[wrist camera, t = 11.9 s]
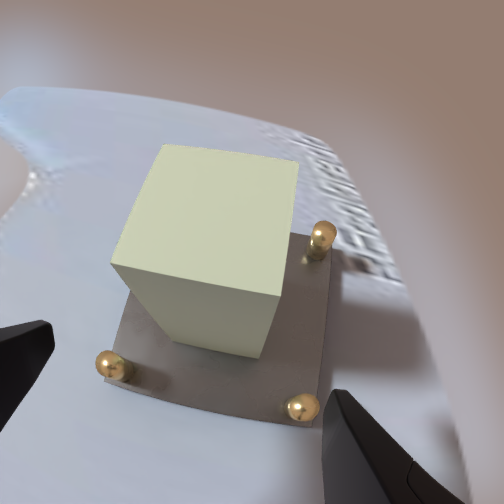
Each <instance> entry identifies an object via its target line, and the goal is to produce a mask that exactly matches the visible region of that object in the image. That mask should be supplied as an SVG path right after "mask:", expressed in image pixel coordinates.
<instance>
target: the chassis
mask: <svg viewBox="0 0 504 504" xmlns="http://www.w3.org/2000/svg"><path fill="white" fill-rule="evenodd" d="M336 234H337V230H336V228H335V226H334V225H333V224H332V223H330V222H328V221H319V222H317V223H316V224H315V226H314V229H313V231H312V234H311V236H308V235H302V234H296V233H291V232H290V236H289V243H288V250H287V257H286V264H285V271H284V278H283V284H282V291H281V297H280V300H279V303H278V306H277V309H276V312H275V314H274V317H273V320H272V323H271V326H270V329H269V332H268V335H267V337H266V340H265V343H264V346H263V349H262V351H261V354H260V357H259V359H256V358H251V357H245V356H240V355H235V354H229V353H224V352H219V351H215V350H210V349H205V348H200V347H196V346H191V345H187V344H183V343H178V342H174V341H172V340H171V339H170V338H169V337H168V335H167V334H166V333H165V332H164V331H163V330H162V328H161V327H160V326H159V325H158V324H157V322H156V321H155V320H154V319H153V318H152V316H151V315H150V314H149V313H148V311H147V310H146V309H145V308H144V306H143V305H142V304H141V303H140V301H139V300H138V299H137V298H136V296H135V295H134V294H133V293H132V291H131V290H130V293H129V296H128V299H127V303H126V306H125V309H124V312H123V315H122V318H121V322H120V325H119V328H118V332H117V335H116V339H115V342H114V346H113V349H112V351H108V350H107V351H103V352H101V353H100V354H99V355H98V356H97V358H96V369H97V371H98V372H99V373H100V374H101V375H102V376H105V379H104V382H107V383H110V384H113V385H116V386H119V387H122V388H125V389H128V390H131V391H134V392H138V393H141V394H144V395H148V396H151V397H155V398H158V399H162V400H165V401H169V402H173V403H177V404H181V405H185V406H189V407H193V408H197V409H202V410H206V411H211V412H215V413H220V414H225V415H230V416H236V417H241V418H247V419H253V420H259V421H265V422H272V423H279V424H287V425H295V426H304V427H312V422H313V418H315V417H316V416H317V414H318V412H319V409H320V405H319V401H318V400H317V398H316V397H317V390H318V383H319V376H320V368H321V360H322V352H323V344H324V335H325V326H326V316H327V306H328V295H329V283H330V270H331V255H332V243H333V241H334V239H335V237H336Z"/></svg>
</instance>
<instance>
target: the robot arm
mask: <svg viewBox="0 0 504 504" xmlns="http://www.w3.org/2000/svg"><path fill="white" fill-rule="evenodd" d="M54 348H55V341H54V335H53V328H52V325H51V324H50V323H49V322H46V321H44V320H37V321H33V322H28V323H23V324H19V325H14V326H10V327H5V328H0V432H1V431H2V429H3V428H4V426H5V425H6V423H7V422H8V420H9V419H10V417H11V416H12V414H13V413H14V411H15V410H16V408H17V407H18V406H19V404H20V403H21V401H22V400H23V398H24V397H25V396H26V394H27V393H28V391H29V390H30V389H31V387H32V386H33V384H34V383H35V381H36V380H37V378H38V376H39V375H40V373H41V371H42V369H43V368H44V366H45V364H46V363H47V361H48V359H49V358H50V356H51V354H52V353H53V351H54ZM322 470H323V482H324V496H325V504H465V503H463V502H462V501H461V500H460V499H458V498H457V497H456V496H454V495H453V494H452V493H451V492H449V491H448V490H447V489H445V488H444V487H443V486H442V485H441V484H439V483H438V482H437V481H436V480H435V479H434V478H432V477H431V476H430V475H429V474H428V473H427V472H426V471H425V470H424V469H423V468H422V467H421V466H420V465H419V464H418V463H417V462H416V461H413V458H412V457H411V456H410V455H409V454H408V453H407V452H406V451H405V450H404V449H403V448H402V447H401V446H400V445H399V444H398V443H397V442H396V441H395V440H394V439H393V438H392V437H391V436H390V435H389V434H388V433H387V432H386V431H385V430H384V429H383V427H382V426H381V425H380V424H379V423H378V422H377V421H376V420H375V419H374V418H373V417H372V416H371V415H370V414H369V413H368V412H367V411H366V410H365V409H364V408H363V407H362V406H361V405H360V404H359V402H358V401H357V400H356V399H355V398H354V397H353V396H352V395H351V394H350V393H349V392H348V391H347V390H341V389H334V390H332V392H331V394H330V396H329V399H328V402H327V404H326V407H325V409H324V414H323V438H322Z"/></svg>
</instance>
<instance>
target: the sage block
mask: <svg viewBox="0 0 504 504" xmlns="http://www.w3.org/2000/svg"><path fill="white" fill-rule="evenodd" d="M298 167H299V162H295V161H289V160H283V159H278V158H271V157H265V156H259V155H252V154H245V153H238V152H231V151H224V150H216V149H208V148H199V147H190V146H180V145H170V144H163V146H162V148H161V150H160V152H159V154H158V156H157V158H156V160H155V162H154V164H153V166H152V168H151V170H150V172H149V174H148V176H147V178H146V180H145V182H144V184H143V186H142V188H141V191H140V193H139V195H138V197H137V199H136V202H135V204H134V206H133V208H132V210H131V213H130V215H129V217H128V220H127V222H126V224H125V227H124V229H123V231H122V234H121V236H120V239H119V241H118V244H117V246H116V248H115V251H114V254H113V256H112V259H111V261H110V264H111V265H112V266H113V268H114V269H115V270H116V272H117V273H118V274H119V276H120V277H121V278H122V280H123V281H124V282H125V284H126V285H127V286H128V287H129V289H130V290H131V291H132V293H133V294H134V295H135V296H136V298H137V299H138V300H139V301H140V303H141V304H142V305H143V306H144V308H145V309H146V310H147V311H148V313H149V314H150V315H151V316H152V318H153V319H154V320H155V321H156V322H157V324H158V325H159V326H160V327H161V328H162V330H163V331H164V332H165V333H166V334H167V335H168V337H169V338H170V339H171V340H172V341H174V342H178V343H183V344H187V345H191V346H196V347H200V348H205V349H210V350H215V351H219V352H224V353H229V354H235V355H240V356H245V357H251V358H256V359H259V357H260V354H261V351H262V349H263V346H264V343H265V340H266V337H267V335H268V332H269V329H270V326H271V323H272V320H273V317H274V314H275V312H276V309H277V306H278V303H279V300H280V297H281V291H282V284H283V278H284V271H285V264H286V257H287V250H288V243H289V236H290V229H291V222H292V214H293V207H294V199H295V191H296V184H297V176H298Z"/></svg>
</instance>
